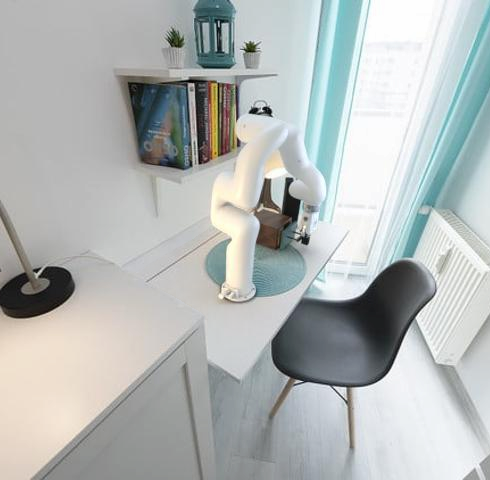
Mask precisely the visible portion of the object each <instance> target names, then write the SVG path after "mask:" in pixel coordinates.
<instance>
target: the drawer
mask: <svg viewBox="0 0 490 480" xmlns="http://www.w3.org/2000/svg"><path fill="white" fill-rule="evenodd" d="M296 226H297V227H298V222H297V221H294V222H293V223H292V224H291V221H288V222H287V223H286V224H285V225H284V229H283V232H282V238H281V239H280V234H281V230H280V229H279V230H278V237H277V245H276V246H278V247H279V249H280V250H284V249H285V248H286V247H287V246H288V245H289V244H290V243H291V242H292V241H295V242H296V243H299V242H301V240H302V236H301V233H302V232H298V231H297V228H296ZM296 234H297V235H299V236H298V237H297V238H295V237H296ZM280 244H281V245H280ZM279 245H280V246H279Z"/></svg>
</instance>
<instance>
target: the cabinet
mask: <svg viewBox="0 0 490 480" xmlns="http://www.w3.org/2000/svg"><path fill="white" fill-rule="evenodd" d="M253 215H254V216H255V217H256V218H257V219H258V221H259V223H260V229H259V233H258V236H257V239H256V244H259V245H262V246H265V247H267V248H269V249H273V250H277V248H279V247H280V246H281V244H280V245H279V246H276V245H277V237H278V230H279V229H280V228H281V227H282V226H284V225H285V224H286V223H287V222H288V221H291V219H292V217H289V216H285V215H282V214H281V213H279V212H275V211H271V210H268V209H264V208H262V209H260V210H259V211H257V212H256V213H254V214H253Z"/></svg>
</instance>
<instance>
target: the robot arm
mask: <svg viewBox="0 0 490 480" xmlns="http://www.w3.org/2000/svg"><path fill="white" fill-rule="evenodd" d="M234 131H235V135H236V137H237V139H238V140H239V141H241V142H242V143H245V145H244V146H243V147H242V148H241V150H240V151H239V153H238V155H237V157H236V162H235V167H234V171H233V170H224V171H221V172H220V173H219V174H218V175H217V176H216V178H215V179H214V182H213V184H212V191H211V202H210V203H211V204H210V222H211V224H212V226H213V227H214V228H215V229H217V231H220V232H221V233H224V234H226V235H227V236H229V237H230V238H231V240H230V242H229V243H228V244H227V246H226V250H225V251H226V253H225V255H226V256H225V258H226V259H225V281H224V282H223V283H222V284H221V286H220V287H221V290H220V291H221V292H220V293H219V294H218V298H219V299H220V300H223V299H224V298H226V299H227V300H230V301H233V302H239V303H240V302H241V303H242V302H246V301H249V300H251V299H252V298H253V297H255V296H256V293H257V291H256V290H257V288H256V285H255V284H254V282H253V276H254V263H255V253H256V252H255V251H256V244H257V243H256V239H257V236H258V233H259V229H260V223H259V221H258V219H257V218H256V217H255V216H254V215H255V214H253V213H251V212H249V211H247V210H253V209H254V208H255V207H256V206H257V205H258V204H259V201H260V197H261V190H262V185H263V180H264V179H263V178H264V173H265V168H266V165H267V162H268V160H269V159H270V158H271V156H273V154H274V153H275V152H276V151H277V150H278V152H279V155H280V158H281V160H282V164H283V167H284V169H285V171H286V172H287V173H288V174H289V175H291V176H292V177H293V176H294V177H295V178H297V179H298V180H295V181H293V182H292V183H291V185H290V187H289V193H290V195H291V196H292V197H294V198H297V199H299V200H301V202H302V206H301V210H302V214H301V219H300V222H299V223H300V224H299V229H298V230H299V233H301V236H302V239H301V240H300V244H302V245H304V246H309V244H310V239H311V235H312V233H314V232H315V230H317V228H318V224H319V216H320V212H321V208H322V204H323V202H324V201H325V200H326V198H327V184H326V180H325V177H324V175H323V174H322V173H321V171H320V170H319V169H318V168H317V167H316V165H315V164H314V163H312V161H311V160H310V159H309V157H308V152H307V148H306V144H305V140H304V136H303V132H302V129H301V128H300V127H299V126H298V125H297V124H295V123H293V122H287V121H284V120H283V119H280V118H277V117H273V116H267V115H261V114H260V115H259V114H254V113H244V114H242V115H240V117H238V119H237V120H236V122H235V126H234Z"/></svg>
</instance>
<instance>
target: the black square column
mask: <svg viewBox="0 0 490 480" xmlns="http://www.w3.org/2000/svg"><path fill="white" fill-rule="evenodd" d="M284 179H285V180H284V189H283V196H282V205H281V213H280V214H282V215H285V216H289V217H292V219H291V224H292V223H293V222H294V221H297V223H299V216H300V209H301V202H302V200H299V199H297V198H294V197H292V196H291V195H290V193H289V187H290V185H291V183H292V182H293V181H295V180H298V179H297V178H295V177H294V176H292V177H291V176H290V177H289V176H287V177H286V176H285V177H284ZM297 228H298V225H297V226H296V229H297Z"/></svg>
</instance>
